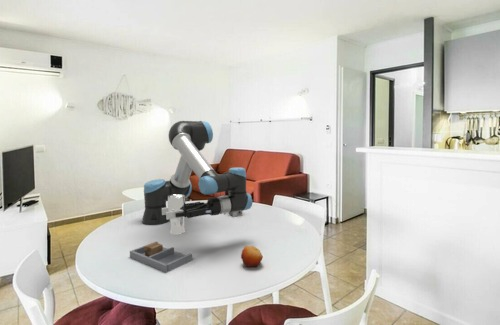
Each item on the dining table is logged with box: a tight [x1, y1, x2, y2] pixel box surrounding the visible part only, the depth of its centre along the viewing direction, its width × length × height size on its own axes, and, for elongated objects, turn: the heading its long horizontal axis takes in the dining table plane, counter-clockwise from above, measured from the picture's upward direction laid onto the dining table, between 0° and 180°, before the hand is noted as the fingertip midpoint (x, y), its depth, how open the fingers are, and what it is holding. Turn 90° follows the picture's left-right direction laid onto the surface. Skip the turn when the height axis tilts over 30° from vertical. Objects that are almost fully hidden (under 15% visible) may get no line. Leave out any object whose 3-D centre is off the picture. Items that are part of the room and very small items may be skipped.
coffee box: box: [228, 191, 243, 218], centre depth 176 cm, size 9×6×16 cm
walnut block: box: [144, 241, 163, 257], centre depth 118 cm, size 5×5×4 cm
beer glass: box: [167, 194, 187, 236], centre depth 116 cm, size 7×7×15 cm
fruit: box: [240, 245, 263, 268], centre depth 109 cm, size 8×8×8 cm
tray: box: [129, 241, 196, 274], centre depth 115 cm, size 23×14×3 cm, turn 54°
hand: (164, 213), depth 114 cm, fingers closed on beer glass, 7 cm apart
